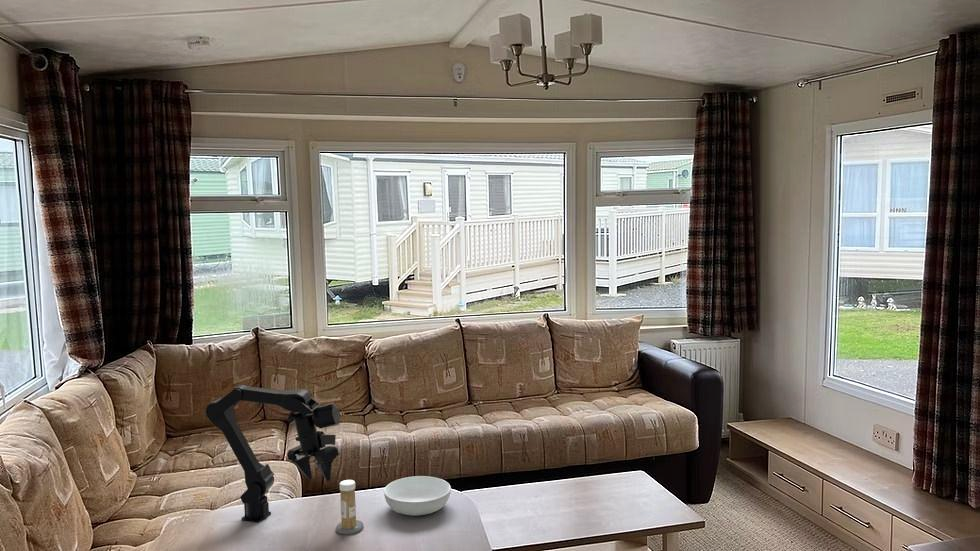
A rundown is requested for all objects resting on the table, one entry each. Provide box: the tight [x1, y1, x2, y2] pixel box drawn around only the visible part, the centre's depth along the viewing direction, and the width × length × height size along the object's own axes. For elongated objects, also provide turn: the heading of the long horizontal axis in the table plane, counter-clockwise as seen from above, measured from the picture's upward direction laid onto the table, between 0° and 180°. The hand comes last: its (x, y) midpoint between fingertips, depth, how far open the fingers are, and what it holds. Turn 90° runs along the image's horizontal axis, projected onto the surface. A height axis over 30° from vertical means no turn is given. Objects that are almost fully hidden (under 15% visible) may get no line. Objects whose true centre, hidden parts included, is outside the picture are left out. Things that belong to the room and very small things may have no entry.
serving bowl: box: [383, 475, 452, 516], centre depth 211 cm, size 21×21×7 cm
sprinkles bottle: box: [339, 479, 357, 529], centre depth 198 cm, size 5×5×13 cm
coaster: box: [335, 519, 365, 536], centre depth 198 cm, size 8×8×1 cm
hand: (319, 479), depth 205 cm, fingers open, 9 cm apart
